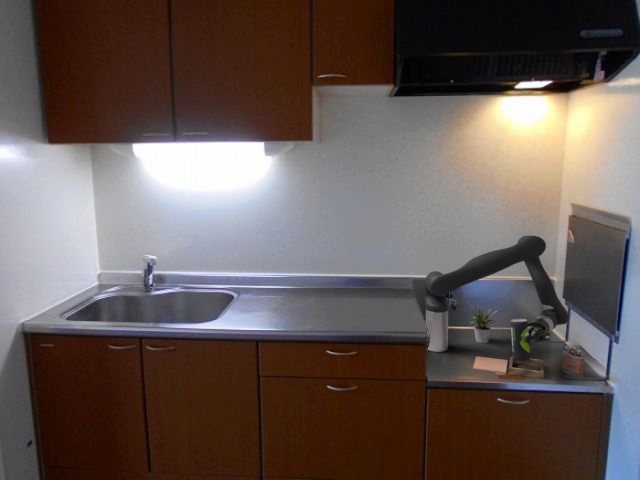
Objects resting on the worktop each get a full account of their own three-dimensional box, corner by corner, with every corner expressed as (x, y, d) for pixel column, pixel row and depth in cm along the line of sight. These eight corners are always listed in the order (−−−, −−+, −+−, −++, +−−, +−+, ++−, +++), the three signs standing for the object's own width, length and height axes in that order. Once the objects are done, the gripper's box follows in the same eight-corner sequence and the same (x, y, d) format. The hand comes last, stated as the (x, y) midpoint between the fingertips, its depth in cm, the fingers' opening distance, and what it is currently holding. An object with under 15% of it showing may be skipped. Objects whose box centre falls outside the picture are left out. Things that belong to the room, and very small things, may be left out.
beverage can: (509, 358, 192) (507, 319, 192) (524, 356, 193) (522, 318, 193) (518, 362, 186) (515, 322, 186) (533, 360, 187) (531, 320, 187)
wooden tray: (508, 374, 187) (508, 367, 187) (510, 362, 198) (510, 356, 198) (543, 379, 183) (543, 372, 182) (543, 366, 194) (543, 360, 193)
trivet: (472, 369, 192) (472, 367, 192) (476, 357, 203) (476, 356, 203) (505, 373, 188) (505, 372, 188) (507, 361, 199) (507, 360, 198)
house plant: (455, 339, 223) (456, 304, 221) (474, 332, 232) (475, 298, 229) (483, 349, 212) (484, 312, 209) (502, 341, 220) (503, 305, 218)
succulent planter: (585, 376, 184) (586, 350, 183) (579, 378, 183) (581, 352, 181) (565, 368, 191) (566, 343, 190) (559, 370, 190) (561, 345, 188)
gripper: (523, 314, 202) (505, 326, 189) (559, 321, 193) (542, 334, 180) (522, 332, 203) (504, 344, 191) (557, 340, 194) (541, 353, 181)
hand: (523, 339), depth 185 cm, fingers closed on beverage can, 1 cm apart
